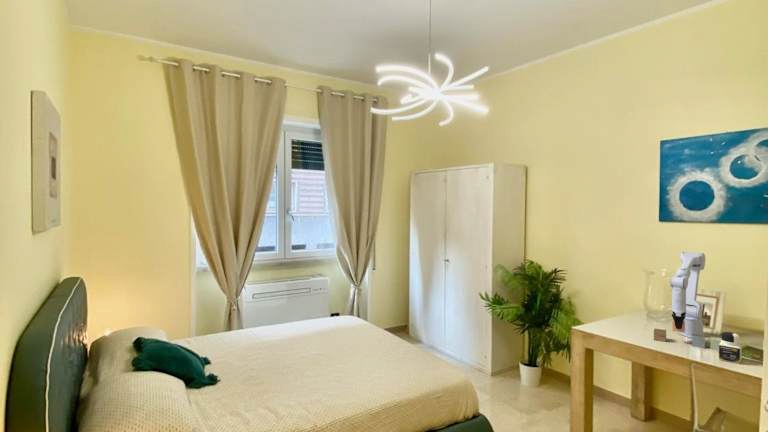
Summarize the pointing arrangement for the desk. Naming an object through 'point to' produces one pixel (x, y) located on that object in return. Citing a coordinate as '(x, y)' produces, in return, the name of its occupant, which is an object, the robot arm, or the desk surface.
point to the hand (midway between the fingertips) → (678, 327)
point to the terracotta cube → (678, 329)
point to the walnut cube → (660, 335)
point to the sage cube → (715, 343)
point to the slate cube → (698, 341)
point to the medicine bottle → (730, 348)
